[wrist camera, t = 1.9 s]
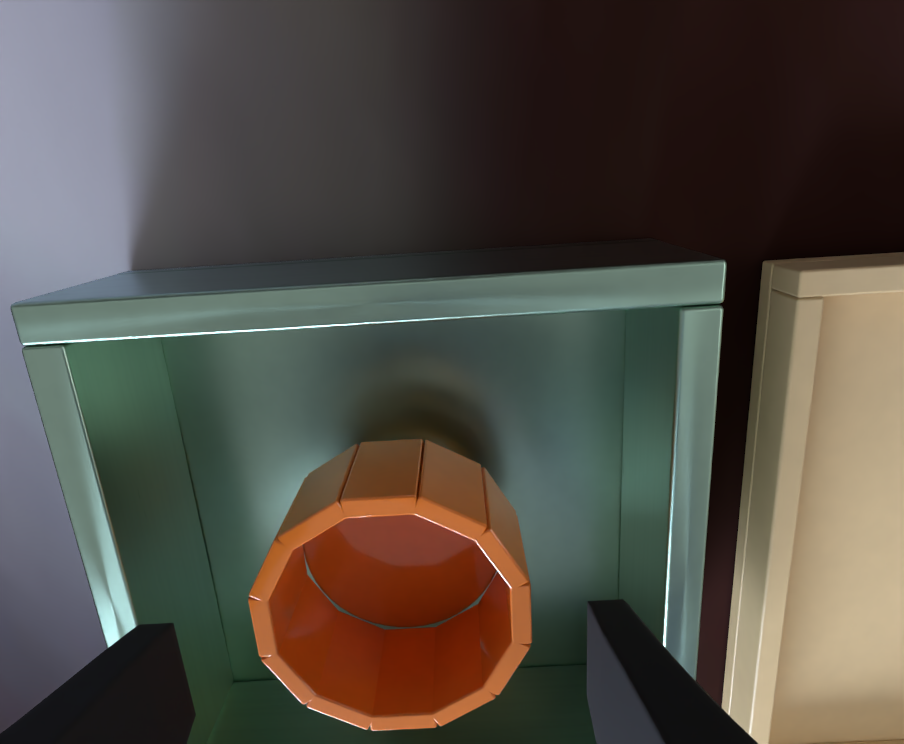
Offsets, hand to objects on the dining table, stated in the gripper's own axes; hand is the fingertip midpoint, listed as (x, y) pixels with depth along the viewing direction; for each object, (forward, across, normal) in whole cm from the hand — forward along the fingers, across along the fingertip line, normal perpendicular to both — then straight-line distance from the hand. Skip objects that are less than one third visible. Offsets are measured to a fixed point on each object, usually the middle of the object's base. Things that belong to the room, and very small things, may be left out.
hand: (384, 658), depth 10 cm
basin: (+6, 0, 0) cm, 6 cm away
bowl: (+6, 0, 0) cm, 6 cm away
